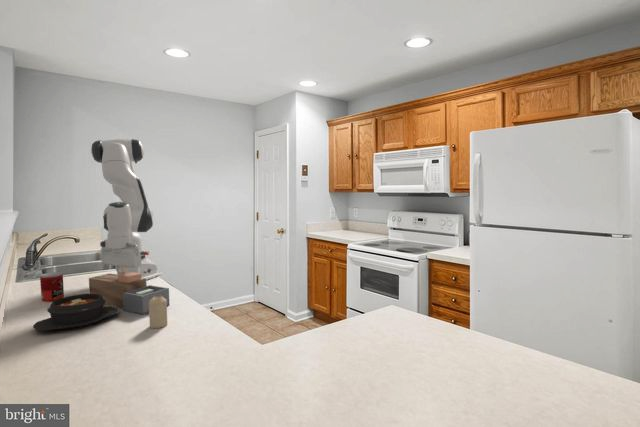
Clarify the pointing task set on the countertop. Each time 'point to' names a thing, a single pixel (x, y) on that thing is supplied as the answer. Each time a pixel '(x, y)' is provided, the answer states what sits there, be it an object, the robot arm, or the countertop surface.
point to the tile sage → (145, 292)
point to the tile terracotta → (129, 277)
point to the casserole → (75, 312)
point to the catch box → (142, 299)
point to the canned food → (51, 286)
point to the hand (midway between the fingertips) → (121, 276)
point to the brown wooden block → (112, 288)
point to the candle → (158, 312)
